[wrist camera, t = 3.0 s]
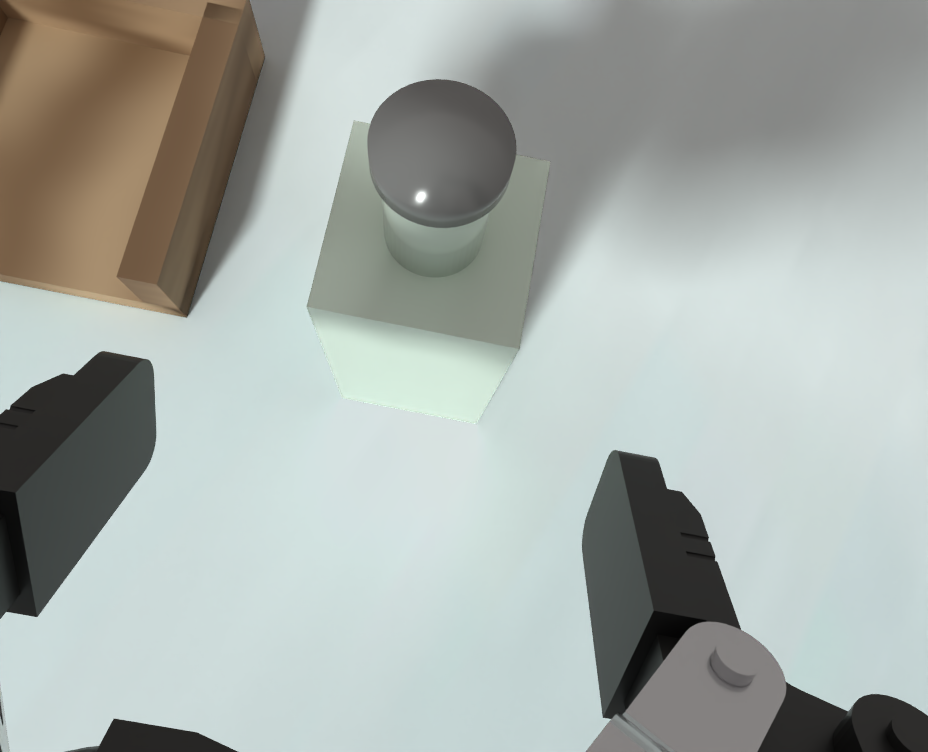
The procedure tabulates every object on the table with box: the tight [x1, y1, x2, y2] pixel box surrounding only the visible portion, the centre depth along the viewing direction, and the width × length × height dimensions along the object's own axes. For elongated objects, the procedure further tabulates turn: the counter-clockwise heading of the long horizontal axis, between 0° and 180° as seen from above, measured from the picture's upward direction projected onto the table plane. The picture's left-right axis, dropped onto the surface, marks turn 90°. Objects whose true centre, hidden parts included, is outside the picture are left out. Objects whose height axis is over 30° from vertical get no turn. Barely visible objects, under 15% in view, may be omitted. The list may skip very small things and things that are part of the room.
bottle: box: [307, 79, 550, 424], centre depth 18 cm, size 5×5×12 cm
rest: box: [0, 0, 265, 317], centre depth 23 cm, size 10×11×3 cm
